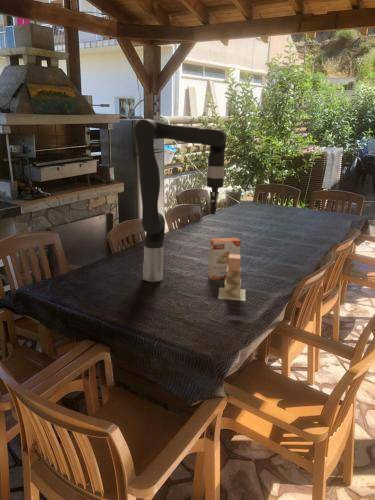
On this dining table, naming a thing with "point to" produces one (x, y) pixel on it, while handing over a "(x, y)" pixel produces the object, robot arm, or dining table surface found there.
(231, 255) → the terracotta block
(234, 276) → the oak top block
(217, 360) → the dining table surface
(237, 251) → the cracker box
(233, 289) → the birch base block
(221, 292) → the beige flat square slab
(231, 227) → the dining table surface
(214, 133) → the robot arm
